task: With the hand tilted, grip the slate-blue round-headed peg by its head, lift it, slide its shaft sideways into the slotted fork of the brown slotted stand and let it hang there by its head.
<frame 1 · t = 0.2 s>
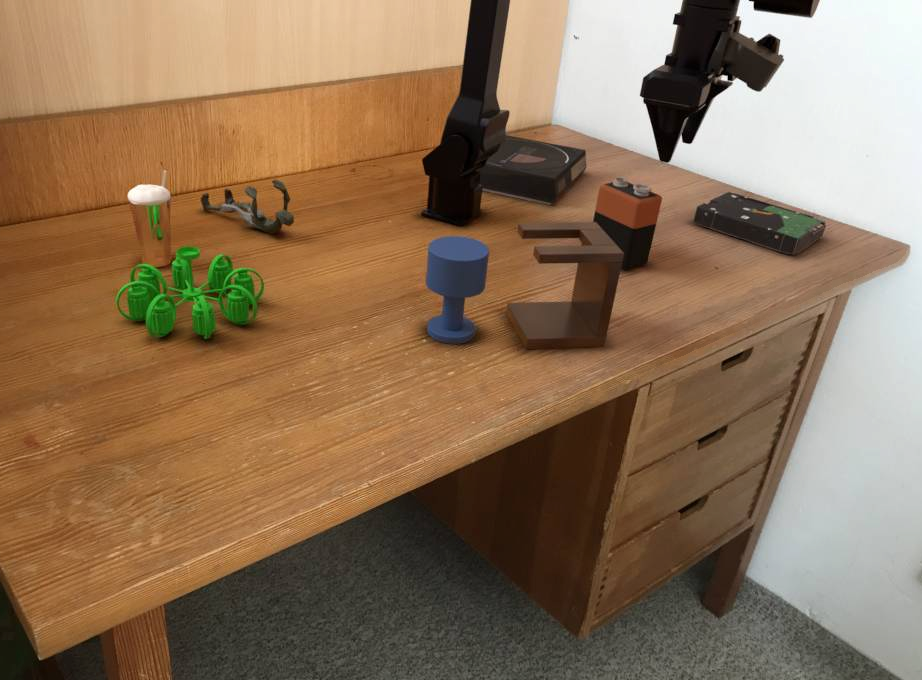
hand: (676, 152, 95), 15 cm above the table, tool pointing down, fingers open, 9 cm apart
disk drive: (756, 232, 116), on the table
portable cd player: (517, 180, 129), on the table
chandelier: (194, 313, 86), on the table
zombie figurine: (250, 226, 107), on the table
brown slotted stand: (551, 329, 88), on the table
battery: (616, 260, 105), on the table
milkshake: (159, 262, 96), on the table
peg: (450, 332, 86), on the table
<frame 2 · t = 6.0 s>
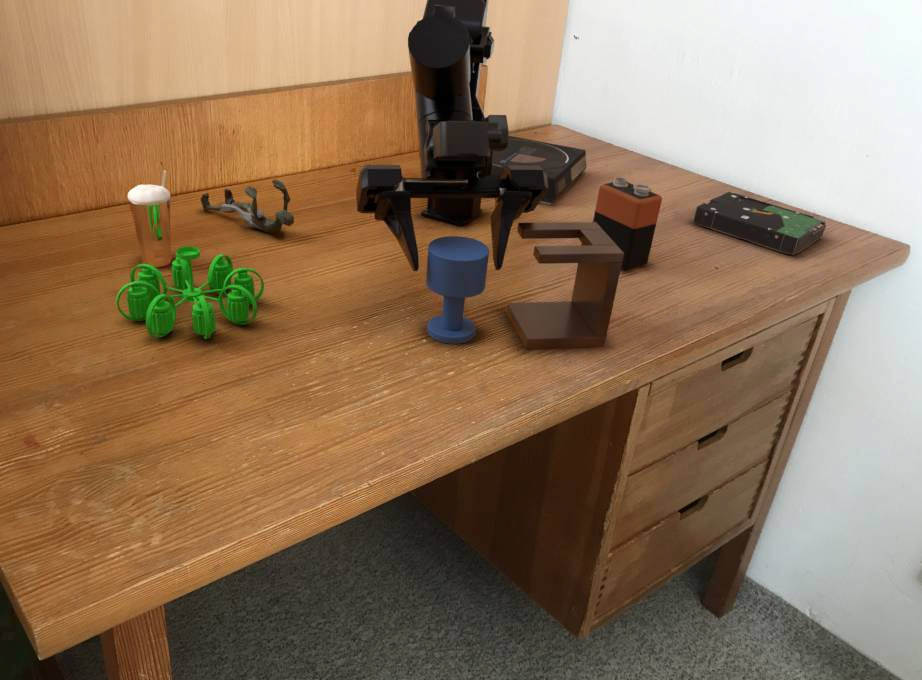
hand: (457, 269, 81), 8 cm above the table, tool tilted 45°, fingers open, 8 cm apart
nothing on the table moved.
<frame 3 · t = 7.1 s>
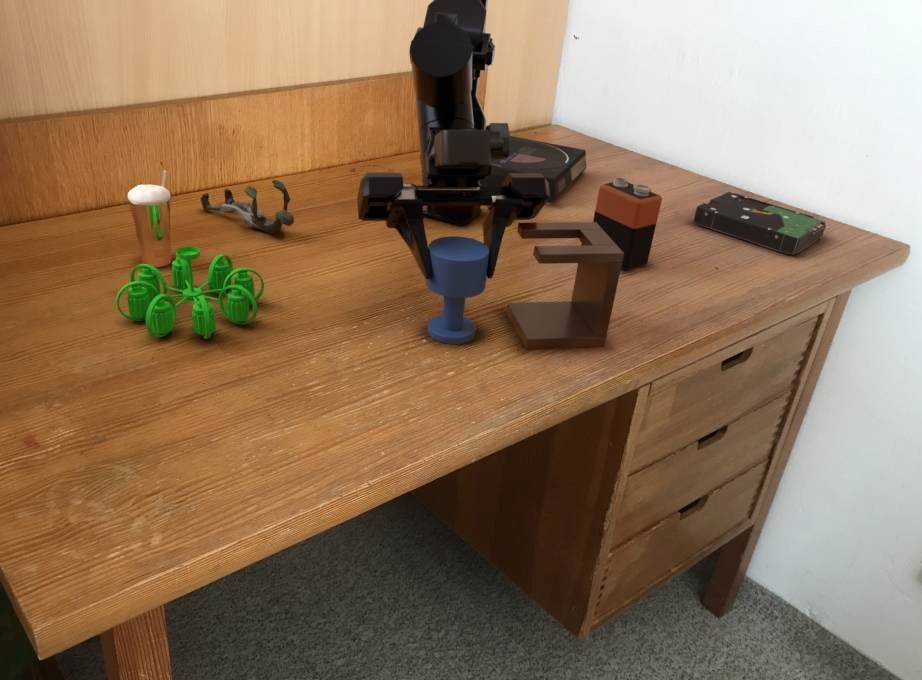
hand: (459, 277, 81), 7 cm above the table, tool tilted 45°, fingers closed on peg, 6 cm apart
peg: (451, 332, 86), on the table, touching gripper
everything else where it was.
when the fingers open (12 cm above the table, at t = 12.4 s): peg stays where it is, resting on brown slotted stand.
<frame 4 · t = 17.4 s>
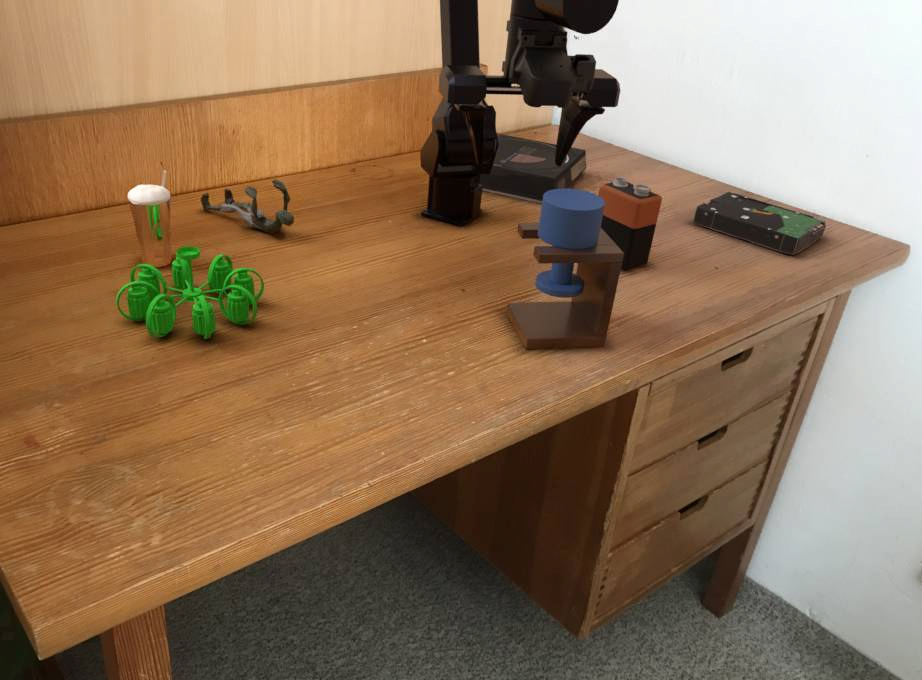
hand: (518, 165, 93), 13 cm above the table, tool pointing down, fingers open, 9 cm apart
peg: (559, 287, 85), point 5 cm above the table, touching brown slotted stand
everything else where it was.
at the end: peg 0.0 cm off-centre on the brown slotted stand, point 5.0 cm above the brown slotted stand's base; peg touching brown slotted stand; the gripper is holding nothing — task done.
